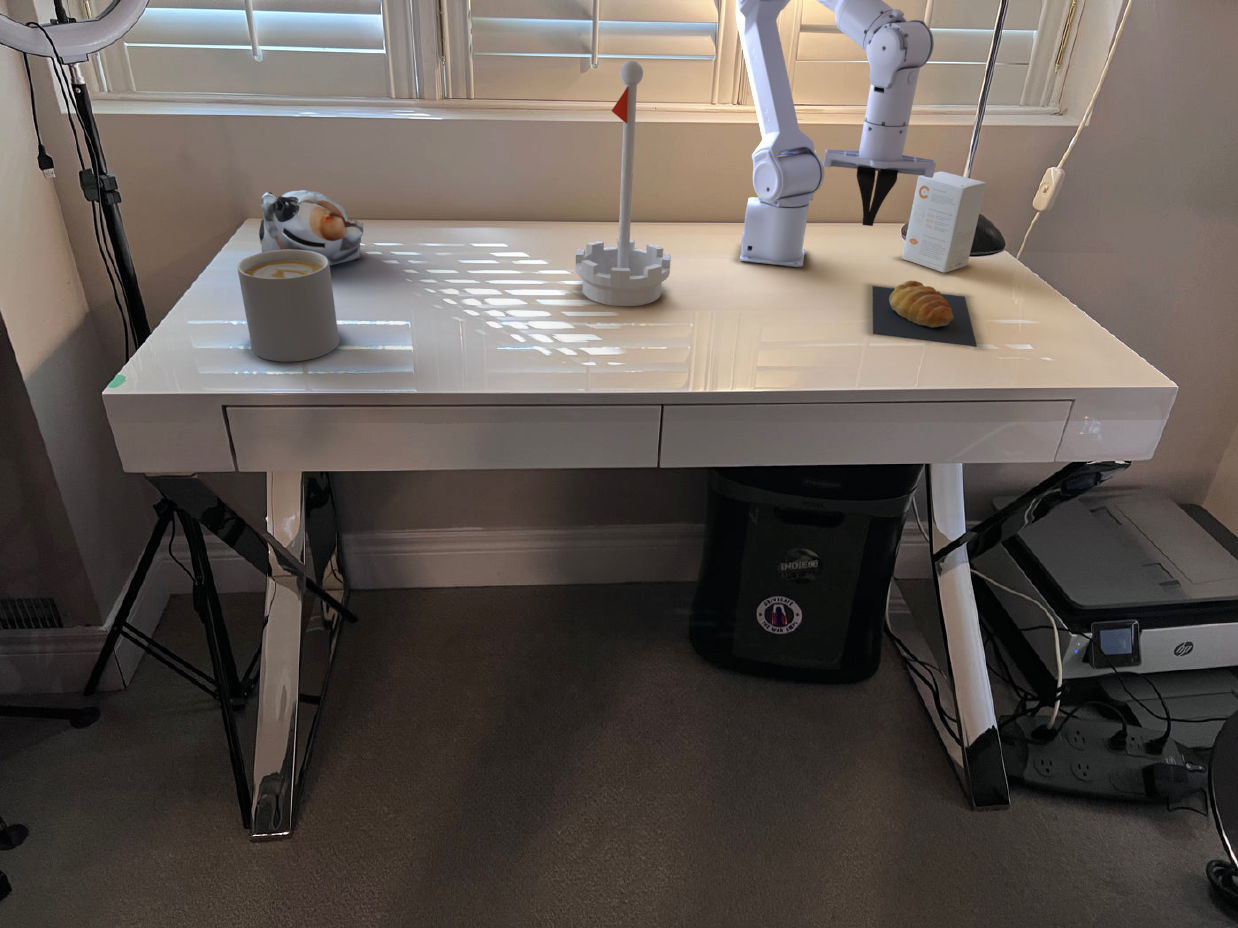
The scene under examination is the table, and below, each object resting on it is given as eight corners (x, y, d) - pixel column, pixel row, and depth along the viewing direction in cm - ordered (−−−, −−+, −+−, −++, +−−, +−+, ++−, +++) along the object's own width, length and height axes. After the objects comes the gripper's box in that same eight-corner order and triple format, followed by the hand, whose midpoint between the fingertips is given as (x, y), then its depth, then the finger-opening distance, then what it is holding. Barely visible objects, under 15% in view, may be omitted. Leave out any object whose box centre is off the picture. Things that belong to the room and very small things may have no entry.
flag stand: (601, 269, 138) (608, 49, 123) (682, 286, 134) (700, 60, 118) (558, 296, 128) (559, 61, 112) (644, 316, 124) (658, 73, 108)
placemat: (872, 334, 122) (873, 333, 122) (872, 287, 137) (872, 285, 137) (976, 347, 120) (976, 346, 119) (964, 297, 135) (964, 296, 134)
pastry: (964, 328, 124) (971, 301, 122) (921, 334, 122) (927, 306, 120) (921, 302, 132) (927, 276, 130) (881, 307, 130) (886, 281, 128)
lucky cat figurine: (374, 249, 141) (381, 179, 130) (347, 305, 134) (352, 237, 123) (276, 216, 139) (274, 142, 128) (243, 271, 132) (238, 198, 121)
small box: (967, 266, 146) (988, 182, 139) (944, 274, 142) (964, 188, 136) (923, 251, 151) (941, 170, 144) (900, 259, 148) (917, 175, 141)
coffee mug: (336, 359, 109) (326, 277, 103) (246, 364, 107) (230, 280, 102) (342, 315, 120) (333, 239, 115) (261, 318, 118) (247, 241, 113)
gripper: (829, 123, 121) (813, 226, 128) (945, 133, 119) (922, 238, 126) (831, 112, 127) (816, 211, 134) (941, 122, 125) (920, 223, 132)
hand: (867, 223), depth 130 cm, fingers closed
